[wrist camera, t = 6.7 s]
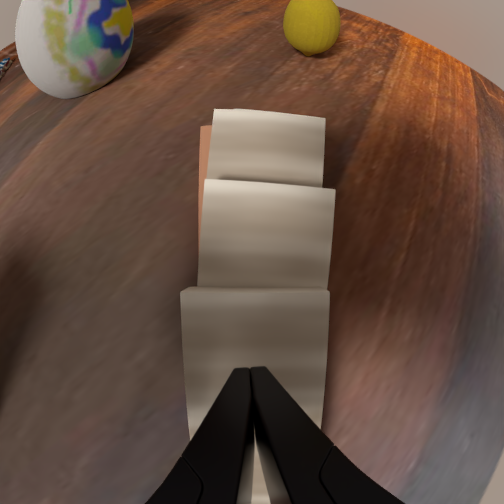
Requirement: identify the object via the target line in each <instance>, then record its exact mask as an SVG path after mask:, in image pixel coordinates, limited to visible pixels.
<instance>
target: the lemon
mask: <svg viewBox="0 0 504 504" xmlns="http://www.w3.org/2000/svg"><path fill="white" fill-rule="evenodd" d="M283 28H284V33H285V36H286V38H287V40H288V42H289V43H290V44H291V45H292V46H293V47H294V48H295V49H297V50H299V51H301V52H302V53H303V54H304V55H305V56H311V55H313V54H318V53H322V52H324V51H326V50H328V49H329V48H331V47H332V46H333V44H334V43H335V42H336V40H337V38H338V35H339V32H340V13H339V10H338V8H337V6H336V5H335V3H334V2H333V1H332V0H291V1H290V3H289V4H288V6H287V9H286V11H285V15H284V22H283Z"/></svg>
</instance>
